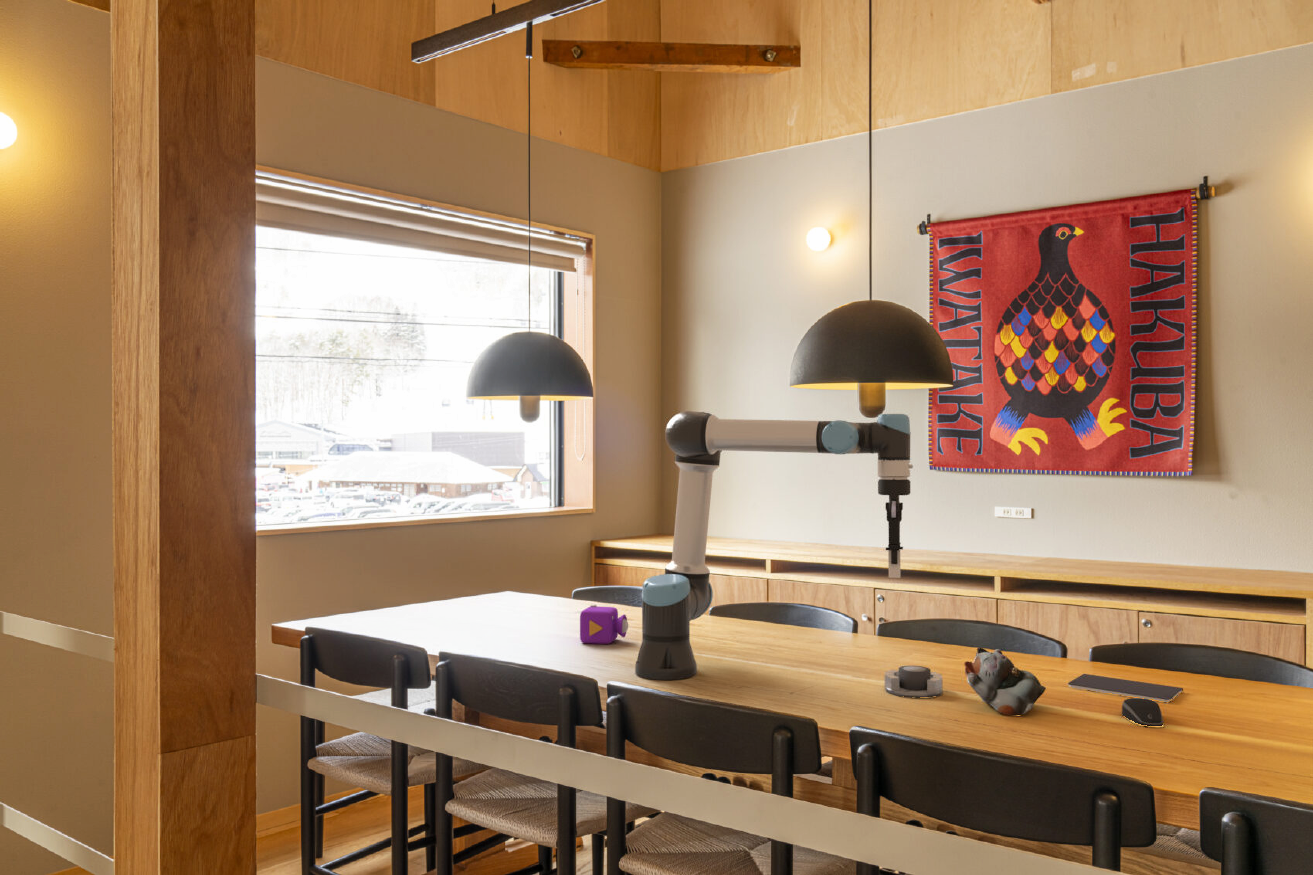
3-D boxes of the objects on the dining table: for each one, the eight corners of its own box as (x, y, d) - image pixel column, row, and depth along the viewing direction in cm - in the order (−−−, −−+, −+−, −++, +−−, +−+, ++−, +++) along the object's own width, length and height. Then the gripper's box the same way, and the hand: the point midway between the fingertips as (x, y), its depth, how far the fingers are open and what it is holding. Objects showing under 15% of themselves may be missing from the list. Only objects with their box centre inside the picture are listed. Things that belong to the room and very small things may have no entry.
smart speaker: (922, 692, 210) (922, 674, 210) (893, 687, 214) (893, 669, 214) (935, 686, 215) (935, 668, 215) (907, 681, 219) (906, 663, 219)
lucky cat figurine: (1021, 720, 191) (985, 658, 193) (976, 730, 200) (942, 670, 202) (1057, 687, 200) (1022, 628, 202) (1013, 698, 209) (980, 641, 211)
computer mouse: (1133, 728, 187) (1133, 707, 187) (1116, 711, 199) (1116, 692, 199) (1172, 730, 185) (1171, 709, 185) (1152, 713, 197) (1152, 693, 197)
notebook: (1183, 694, 213) (1083, 680, 227) (1183, 687, 213) (1083, 673, 227) (1169, 706, 203) (1066, 690, 217) (1169, 699, 203) (1066, 683, 217)
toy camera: (627, 645, 265) (627, 609, 265) (578, 645, 265) (578, 609, 265) (629, 638, 276) (629, 603, 276) (582, 637, 276) (582, 603, 276)
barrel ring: (941, 686, 219) (941, 670, 219) (943, 700, 207) (942, 683, 207) (885, 682, 222) (885, 667, 222) (883, 696, 210) (883, 679, 210)
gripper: (910, 479, 218) (910, 581, 218) (910, 477, 231) (911, 574, 231) (876, 479, 220) (877, 580, 220) (879, 477, 233) (879, 573, 233)
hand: (894, 577), depth 225 cm, fingers closed
